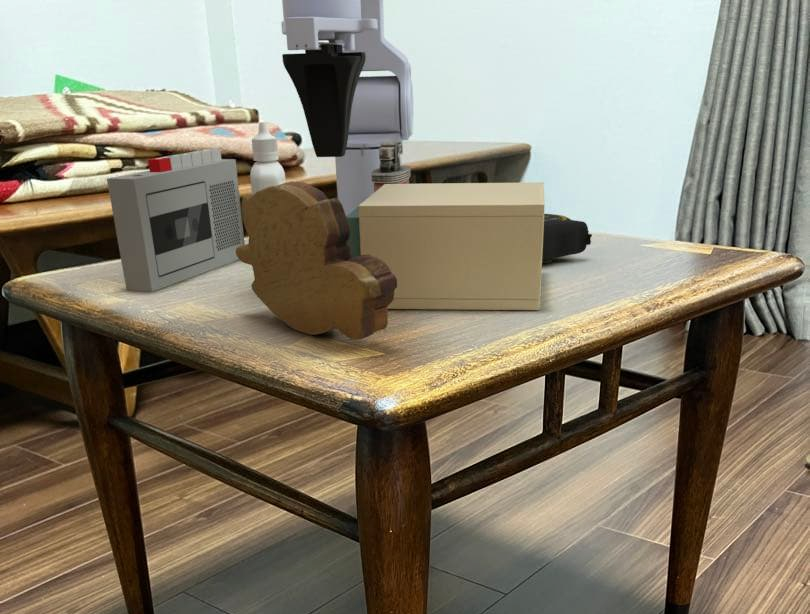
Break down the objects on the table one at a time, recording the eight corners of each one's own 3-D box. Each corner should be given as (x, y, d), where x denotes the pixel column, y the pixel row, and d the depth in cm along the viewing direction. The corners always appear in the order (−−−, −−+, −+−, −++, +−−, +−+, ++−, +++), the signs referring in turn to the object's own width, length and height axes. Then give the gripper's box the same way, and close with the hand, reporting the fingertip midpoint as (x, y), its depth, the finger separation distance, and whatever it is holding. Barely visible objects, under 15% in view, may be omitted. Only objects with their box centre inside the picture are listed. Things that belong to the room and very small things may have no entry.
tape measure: (532, 270, 79) (534, 227, 77) (487, 258, 84) (488, 217, 82) (590, 261, 82) (593, 219, 80) (543, 249, 87) (545, 210, 85)
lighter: (401, 256, 86) (399, 145, 81) (368, 255, 87) (363, 145, 82) (417, 241, 93) (415, 138, 88) (386, 240, 94) (382, 138, 89)
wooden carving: (420, 345, 59) (417, 186, 54) (370, 360, 56) (362, 195, 52) (272, 306, 70) (259, 170, 65) (224, 318, 67) (206, 177, 62)
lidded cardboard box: (363, 308, 68) (358, 205, 65) (387, 274, 79) (384, 183, 75) (539, 310, 66) (544, 204, 63) (539, 274, 77) (543, 182, 74)
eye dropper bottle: (306, 247, 91) (296, 120, 85) (280, 258, 87) (268, 124, 81) (269, 246, 93) (257, 120, 87) (242, 256, 88) (227, 124, 82)
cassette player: (152, 291, 75) (131, 165, 70) (126, 289, 76) (104, 165, 71) (246, 256, 88) (234, 147, 83) (223, 255, 89) (209, 147, 84)
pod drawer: (292, 294, 69) (285, 217, 66) (323, 265, 79) (318, 196, 76) (509, 296, 67) (512, 216, 64) (513, 265, 77) (515, 194, 74)
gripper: (354, -66, 56) (364, 165, 62) (388, -44, 68) (394, 147, 75) (247, -61, 57) (268, 166, 63) (300, -40, 69) (313, 148, 76)
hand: (330, 156), depth 69 cm, fingers closed
